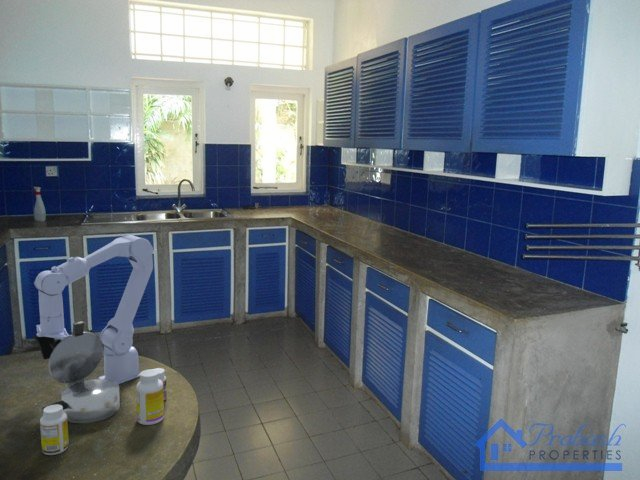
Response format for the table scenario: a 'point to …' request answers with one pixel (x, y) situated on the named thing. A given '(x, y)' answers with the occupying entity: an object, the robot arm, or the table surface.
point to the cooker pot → (90, 400)
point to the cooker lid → (75, 356)
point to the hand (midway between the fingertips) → (54, 361)
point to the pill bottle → (163, 379)
